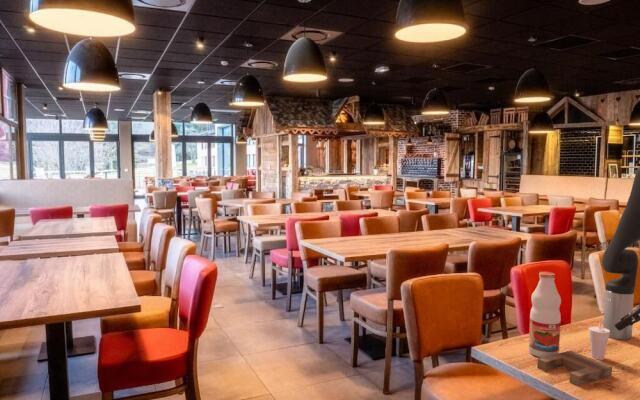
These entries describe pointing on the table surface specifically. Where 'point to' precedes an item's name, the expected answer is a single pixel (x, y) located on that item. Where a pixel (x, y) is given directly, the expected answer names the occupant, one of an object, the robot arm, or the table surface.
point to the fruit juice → (545, 317)
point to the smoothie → (598, 341)
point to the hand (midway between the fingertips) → (619, 324)
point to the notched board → (576, 367)
